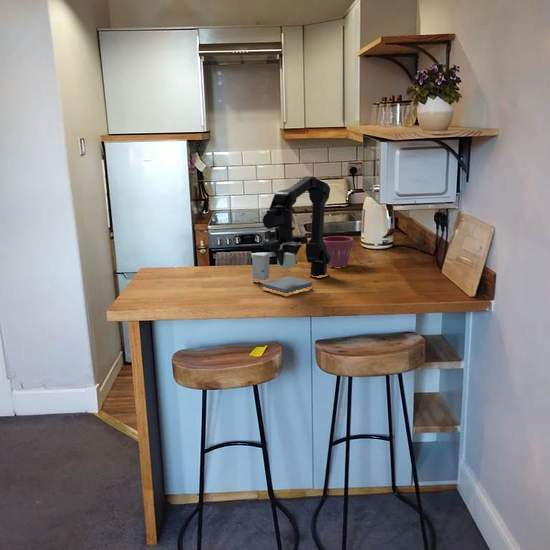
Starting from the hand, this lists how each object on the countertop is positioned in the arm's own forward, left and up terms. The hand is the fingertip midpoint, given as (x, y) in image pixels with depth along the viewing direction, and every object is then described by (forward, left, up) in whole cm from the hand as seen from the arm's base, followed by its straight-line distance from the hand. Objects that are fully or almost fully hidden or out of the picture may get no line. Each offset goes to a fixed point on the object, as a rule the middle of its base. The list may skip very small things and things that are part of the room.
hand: (286, 264), depth 225 cm
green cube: (0, 0, -1) cm, 1 cm away
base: (0, 0, -10) cm, 10 cm away
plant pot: (-42, -12, -11) cm, 45 cm away
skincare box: (-1, -17, -11) cm, 20 cm away
